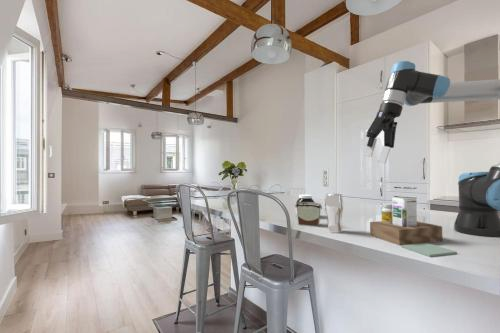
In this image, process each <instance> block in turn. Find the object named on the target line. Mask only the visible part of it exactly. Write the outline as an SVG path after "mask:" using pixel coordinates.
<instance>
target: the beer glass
mask: <svg viewBox="0 0 500 333" xmlns="http://www.w3.org/2000/svg"><path fill="white" fill-rule="evenodd" d="M343 198H344V197H343V194H341V193H326V194H325V201H324V203H325V206H324V207H325V213H326V219H327V227H326V232H327V233H330V234H331V233H332V234H333V233H334V234H340V233H343V226H342V218H343V211H344V199H343Z"/></svg>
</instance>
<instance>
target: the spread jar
mask: <svg viewBox="0 0 500 333" xmlns="http://www.w3.org/2000/svg"><path fill="white" fill-rule="evenodd" d="M298 202H315V200H314V199H313V195H312V194H299V195H298V199H297V200H296V203H298ZM296 203H295V204H296ZM295 213H296V215H297V207H295Z"/></svg>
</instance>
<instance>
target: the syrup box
mask: <svg viewBox="0 0 500 333" xmlns="http://www.w3.org/2000/svg"><path fill="white" fill-rule="evenodd" d="M391 199H392V200H391V201H392V203H391V204H392V214H393V224H394V225H398V226H402V227H411V226H417V221H418V220H417V219H418V216H417V215H418V214H417V211H418V210H417V206H418V204H417V198H409V197H402V196H401V197H399V196H397V197H392V198H391Z"/></svg>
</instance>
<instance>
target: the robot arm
mask: <svg viewBox="0 0 500 333" xmlns="http://www.w3.org/2000/svg"><path fill="white" fill-rule="evenodd" d="M383 93H384V94H383V95H382V96H381V97H382V99H381V103H380V105H379V109H378V111H377V113H376V116H375V117H374V120H373V121H372V123H371V124H370V127H369V128H368V129H367V132H366V135H365V136H366V138H368V139H367V143H366V145H365V149H364V153H363V156H366V157H373V153H374V151H375V148H376V145H377V141H378V138H377V137H379V135H380V134H381V132H383V142H384V145H382V147H381V148H382V149H381V152H380V154H379V157H378V160H377V162H378V163H382V164H386V163H387V161H388V158H389V154H390V151H391V148H392V149H393V148H394V146H395V140H396V132H397V131H396V130H397V126H398V122H397V121H395V118H400V116H401V114H402V111H403V106H404V105H406V106H409V107H413V106H417V105H420V104H432V103H433V104H435V103H449V102H450V103H455V102H457V103H458V102H471V101H472V102H473V101H475V102H476V101H477V102H478V101H492V100H493V101H496V100H500V78H499V79H498V78H497V79H483V80H468V81H453V82H451V79H450V78H449V77H448V76H444V75H441V74H435V73H430V72H429V73H428V72H424V71H418V70H416V64H415V63H414V62H411V61H410V60H400V61H396V62H395V63H393V65H392V68H391V71H390V73H389V77H388V79H387V83H386V87H385V89H384V92H383ZM457 185H458V214H457V216H456V218H455V222H454V225H453V229H454V231H455V232H458V233H462V234H467V235H475V236H483V237H500V214H499V211H500V162H499V163H497V164H495V165H491V167H490V168H489V170H488V171H474V172H473V171H472V172H464V173H461V174H460V175H459V176H458V181H457Z"/></svg>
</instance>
